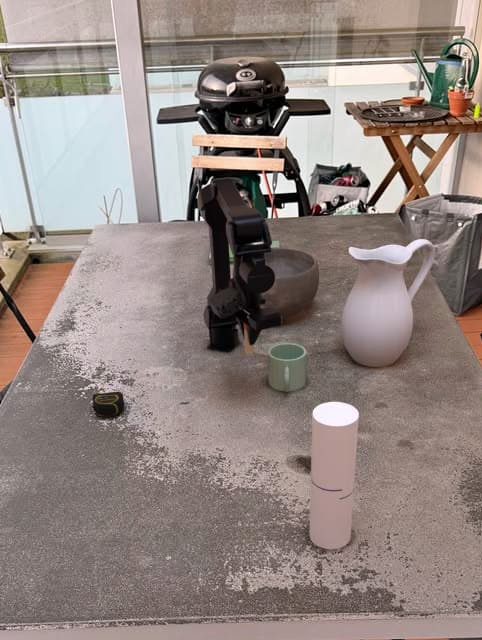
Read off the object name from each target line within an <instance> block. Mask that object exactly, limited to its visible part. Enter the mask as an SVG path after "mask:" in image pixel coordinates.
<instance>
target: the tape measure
mask: <svg viewBox="0 0 482 640" xmlns="http://www.w3.org/2000/svg"><path fill="white" fill-rule="evenodd" d="M92 409H93V412H94V413H96V415H98V416H100V417H113V416H116V415H119V414H121V413H122V412H123V411H124V409H125V400H124V394H123V392H121V391H110V392H102V393H101V392H100V393H95V394H92Z"/></svg>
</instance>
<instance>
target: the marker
mask: <svg viewBox="0 0 482 640" xmlns="http://www.w3.org/2000/svg"><path fill="white" fill-rule="evenodd" d="M244 336H245V341H244V354H245V355H247V356H252V355H254V354H255V344H254V345H249V340H248V334H247V327H246V324H244Z"/></svg>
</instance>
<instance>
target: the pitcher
mask: <svg viewBox="0 0 482 640" xmlns="http://www.w3.org/2000/svg"><path fill="white" fill-rule="evenodd" d="M421 248H424V257H423V262H422V264H421V266H420V269H419V272H418V273H417V275H416V276H415V278H414V281H413V282H412V283H411V285H410V287H409V289H407V286H406V283H405V279H404V268H406V266H407V264H408V262H409V261H410V259H411V258H412V256H413V254H414V253H415V252H417V251H418V250H419V249H421ZM348 254H349V255H350V257H351V258H353V260H354V261H356V262H357V264H358V273H357V277H356V279H355V281H354V284H353V285H352V288H351V290H350V292H349V294H348V296H347V299H346V302H345V304H344V307H343V312H342V315H341V337H342V340H343V344H344V346H345V349H346V351H347V352H348V354H349V356H350V357H351V359H352V360H353V361H354V362H355V363H357V364H359V365H362V366H365V367H370V368H381V367H387V366H389V365H392V364H393V363H395V362H396V361H398V359H399V358H400V357H401V356H402V354H403V353H404V352H405V350H406V349H407V347H408V345H409V344H410V343H409V342H410V340H411V337H412V333H413V327H414V311H413V306H412V302H413V299H414V298H415V295H416V294H417V292H418V291H419V289H420V287H421V286H422V285H423V283H424V281H425V279H426V277H427V276H428V275H429V272H430V271H431V268H432V267H433V264H434V261H435V258H436V257H435V256H436V249H435V246H434V244H433V243H432V242H431V241H430V240H428V239H425V238H418V239H415V240H413V241H411V242H410V243H408V244H407V245H406V246H403V245H399V244H386V245H382V246H379V247H377V248H374V249H373V248H372V249H366V248H365V249H364V248H358V247H356V246H355V247H353V246H349V248H348Z"/></svg>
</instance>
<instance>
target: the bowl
mask: <svg viewBox="0 0 482 640" xmlns="http://www.w3.org/2000/svg"><path fill="white" fill-rule="evenodd" d="M264 258H265V261H266V263H267V264H268V265H269V266H270V267H271V268H272V270H273V271H274V274H275V282H274V285H273V286H272V288H271V289H270V290H268V291H267V292H264V293H262V297H263V298H265V299H266V303H265V304H261V305H260V307H265V308H267V307H271V308H273V309H274V310H276V311H277V312H279V313H280V314H281V315H282V321H284V320H288V319H290V318H292V317H294V316H297V315H299V314H301V313H303V312H304V311H305V310H306V309H307V308H309V306H311V304H312V303H313V302H314V300H315V298H316V296H317V292H318V290H319V286H320V269H319V264H318V261H317V259H316V257H315V256H314V255H313V254H311V253H310V252H308V251H305V250H303V249H300V248H294V247H285V246H284V247H283V246H279V247H271V252H269V253H264ZM232 278H234V266H233V267H232V277H231V279H232Z"/></svg>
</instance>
